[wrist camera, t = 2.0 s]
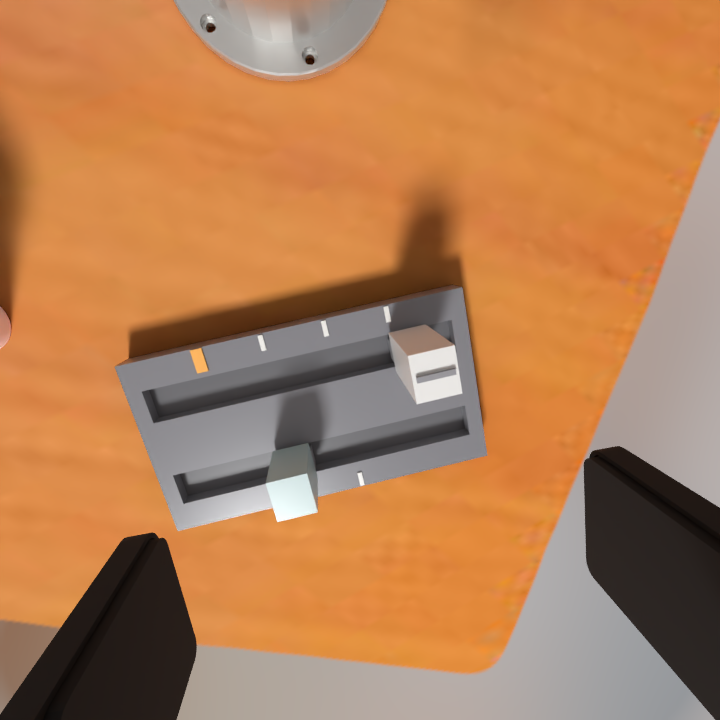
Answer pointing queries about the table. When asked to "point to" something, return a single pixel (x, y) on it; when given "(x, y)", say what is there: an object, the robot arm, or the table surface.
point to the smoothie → (4, 328)
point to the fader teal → (293, 482)
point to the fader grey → (425, 363)
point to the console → (300, 406)
